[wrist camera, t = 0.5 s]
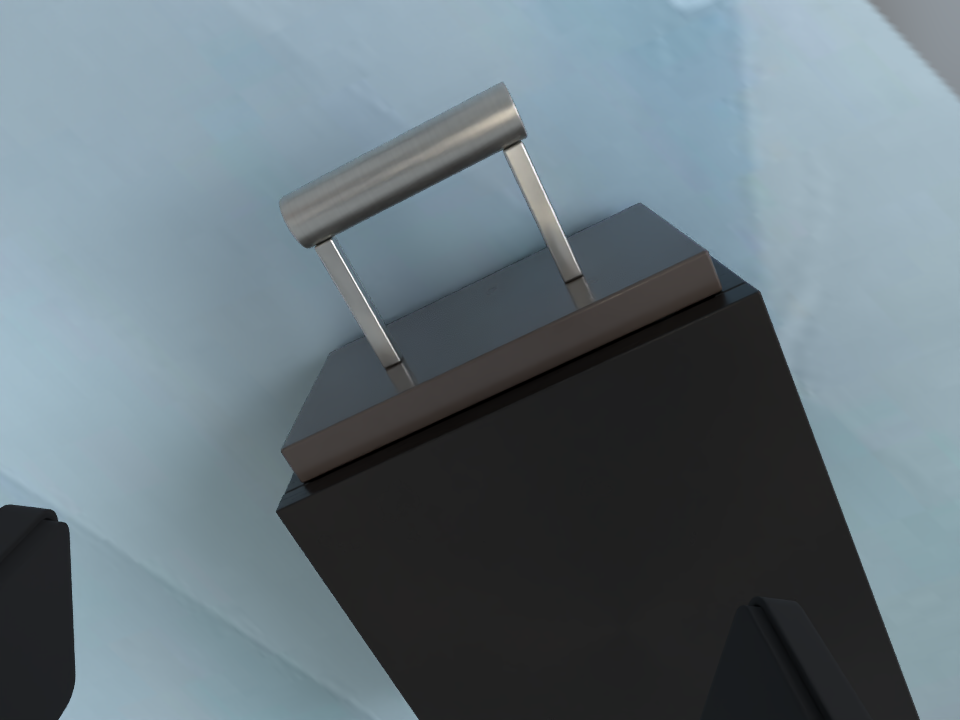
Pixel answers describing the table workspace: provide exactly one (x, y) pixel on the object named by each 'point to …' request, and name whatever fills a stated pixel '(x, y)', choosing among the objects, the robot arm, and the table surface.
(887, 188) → the table surface
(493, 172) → the table surface
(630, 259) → the grey drawer
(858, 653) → the drawer box
